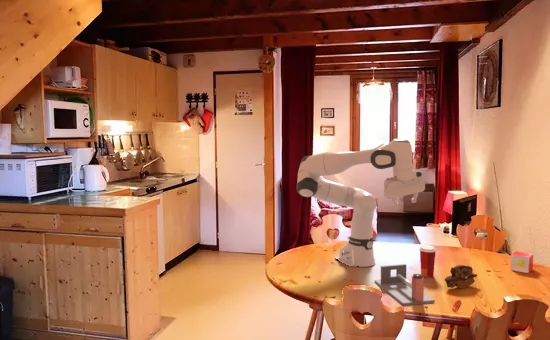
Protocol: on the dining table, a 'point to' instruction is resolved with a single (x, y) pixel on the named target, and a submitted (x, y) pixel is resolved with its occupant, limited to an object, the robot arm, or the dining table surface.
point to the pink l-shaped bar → (415, 286)
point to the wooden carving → (460, 277)
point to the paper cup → (427, 260)
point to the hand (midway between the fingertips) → (405, 204)
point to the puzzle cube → (521, 262)
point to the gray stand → (399, 285)
